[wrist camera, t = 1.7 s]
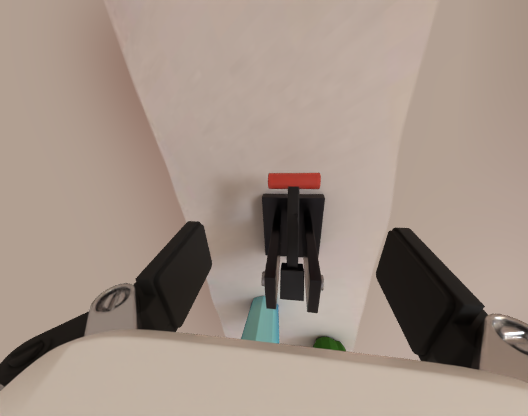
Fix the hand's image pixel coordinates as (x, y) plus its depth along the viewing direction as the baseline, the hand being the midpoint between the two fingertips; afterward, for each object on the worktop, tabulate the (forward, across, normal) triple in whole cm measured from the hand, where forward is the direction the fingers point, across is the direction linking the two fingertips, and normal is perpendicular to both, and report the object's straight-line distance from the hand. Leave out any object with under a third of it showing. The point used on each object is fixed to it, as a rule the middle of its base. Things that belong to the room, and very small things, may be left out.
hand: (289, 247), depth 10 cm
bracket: (+16, 0, +9) cm, 18 cm away
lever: (+9, 0, +5) cm, 11 cm away
